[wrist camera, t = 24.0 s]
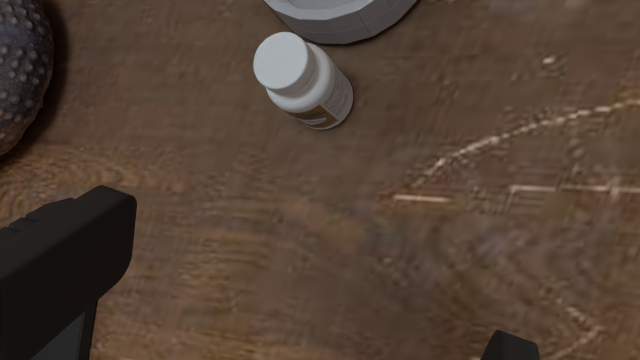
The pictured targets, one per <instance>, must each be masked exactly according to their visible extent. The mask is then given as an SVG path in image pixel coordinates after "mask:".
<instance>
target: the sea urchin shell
mask: <svg viewBox="0 0 640 360" xmlns="http://www.w3.org/2000/svg"><path fill="white" fill-rule="evenodd" d="M53 55H54V41H53V32H52V30H51V26H50V22H49V20H48V19H47V18H46V14H45V13H44V7H43V6H42V4H41V3H40V1H39V0H0V155H3V154H5V153H6V152H8V151H9V150H11V149H12V148H13V147H14V146H15V145H16V144H17V142H18V140H20V139H21V138H22V135H23V134H24V132H25V130H26V128H27V127H28V126H29V125H30V124H31V123H32V122H33V121H34V120H35V118H36V116H37V113H38V111H39V109H40V108H41V107H42V106H43V96H44V93H45V91H46V89H47V88H48V86H49V82H50V79H51V77H52V70H53Z"/></svg>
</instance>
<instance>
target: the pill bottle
mask: <svg viewBox="0 0 640 360" xmlns="http://www.w3.org/2000/svg"><path fill="white" fill-rule="evenodd" d="M253 67H254V72H255V75H256V77H257V79H258V80H259V82H260V83H261V84H262V85H264V86H265V87H266V90H267V93H268V95H269V97H270V98H271V100H272V101H273V102H274V103H275V104H276V105H277V106H279V107H280V108H281V109H283V110H284V111H286V112H287V113H289V114H290V115H291V116H293V117H294V118H296V119H297V120H299V121H300V122H301V123H303V124H304V125H306V126H307V127H310V128H312V129H317V130H325V129H329V128H332V127H334V126H336V125H338V124H339V123H341V122H342V121H343V120H344V119H345V118H346V116H347V115H348V113H349V112H350V109H351V107H352V103H353V90H352V87H351V84H350V82H349V81H348V79H347V78H346V77H345V75H344V74H343V73H342V72H341V71H340V69H339V68H338V67H337V66H336V65H335V64H334V63H333V61H332V60H331V59H330V58H329V57H328V56H327V54H326V53H325V52H324V51H323V50H322V49H320V48H319V47H317V46H316V45H314V44H311V43H306V42H304V40H303V39H301V38H300V37H299V36H297V35H296V34H293V33H290V32H280V33H276V34H274V35H271V36H270V37H268V38H267V39H265V40H264V41H263V42H262V43H261V45H260V46H259V48H258V49H257V51H256V54H255V57H254V62H253Z"/></svg>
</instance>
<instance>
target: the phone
mask: <svg viewBox="0 0 640 360" xmlns="http://www.w3.org/2000/svg"><path fill="white" fill-rule="evenodd" d="M95 307H96V302H95V303H94V304H93V305H91V306H90V307H89V308H88V309H87V310H86V311H85V312H83V313H82V314H81V315H80V316H79V317H78V318H77V319H76V320H74V321H73V322H72V323H71V324H70V325H69V326H68V327H67V328H65V329H64V330H63V331H62V332H61V333H60V334H59V335H58V336H56V337H55V338H54V339H53V340H52V341H51V342H50V343H48V344H47V345H46V346H45V347H44V348H43V349H42V350H41V351H39V352H38V353H37V354H36V355H35V356H34V357H33V358H32V359H30V360H87V359H88V352H89V346H90V339H91V333H92V326H93V320H94V313H95Z"/></svg>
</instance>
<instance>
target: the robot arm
mask: <svg viewBox="0 0 640 360" xmlns="http://www.w3.org/2000/svg"><path fill="white" fill-rule="evenodd" d="M136 210H137V202H136V199H135V197H134V196H131V195H129V194H126V193H123V192H120V191H118V190H115V189H112V188H109V187H107V186H104V185H100V186H97V187H95V188H93V189H92V190H90V191H88V192H86V193H85V194H83V195H81V196H80V197H78V198H76V199H73V198H68V199H64V200H60V201H56V202H52V203H48V204H45V205H43V206H42V207H40V208H38V209H36V210H34V211H33V212H31V213H29V214H27V215H26V217H25V218H20V219H18V220H16V221H15V222H13V223H11V224H9V227H8V228H7V227H4V228H2V229H0V360H30V359H32V358H33V357H34V356H35V355H36V354H37V353H38V352H39V351H41V350H42V349H43V348H44V347H45V346H46V345H47V344H48V343H50V342H51V341H52V340H53V339H54V338H55V337H56V336H58V335H59V334H60V333H61V332H62V331H63V330H64V329H65V328H67V327H68V326H69V325H70V324H71V323H72V322H73V321H74V320H76V319H77V318H78V317H79V316H80V315H81V314H82V313H83V312H85V311H86V310H87V309H88V308H89V307H90V306H91V305H93V304H94V303H95V302H96V301H97V300H98V299H99V298H100V297H102V296H103V295H104V294H105V293H106V292H107V291H108V290H109V289H111V288H112V287H113V286H114V285H115V284H116V283H117V282H118V281H119V280H120V279H121V278H122V277H123V275H124V274H125V272H126V270H127V268H128V266H129V264H130V261H131V257H132V249H133V239H134V230H135V220H136ZM480 360H540V359H539V352H538V347H537V345H536V344H535V343H533V342H531V341H528V340H525V339H522V338H520V337H517V336H514V335H511V334H509V333H506V332H503V331H500V330H496V331H495V332H494V334H493V335H492V337H491V339H490V341H489V343H488V345H487V347H486V349H485V351H484V353H483V355H482V357H481V359H480Z"/></svg>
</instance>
